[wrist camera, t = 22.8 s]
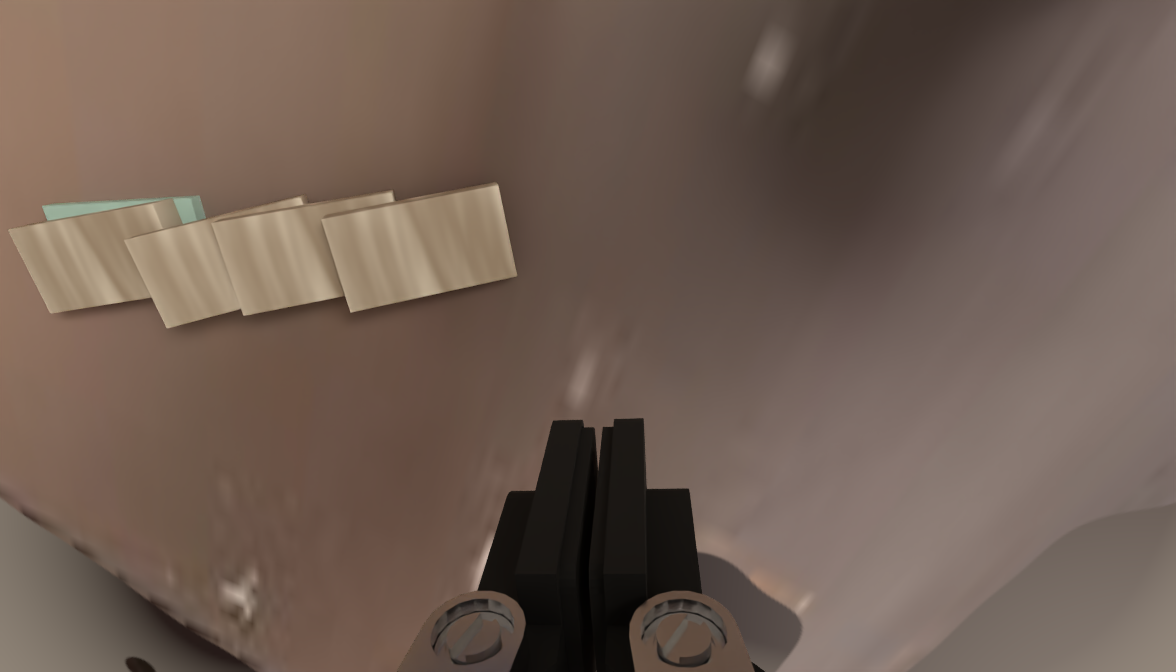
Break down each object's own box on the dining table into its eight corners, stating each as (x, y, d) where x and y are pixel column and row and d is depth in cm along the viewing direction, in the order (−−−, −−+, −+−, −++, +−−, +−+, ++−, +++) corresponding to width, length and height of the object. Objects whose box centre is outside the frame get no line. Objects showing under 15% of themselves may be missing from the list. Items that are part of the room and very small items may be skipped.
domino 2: (152, 203, 34) (7, 229, 35) (189, 291, 36) (50, 313, 37) (172, 198, 36) (32, 223, 37) (207, 282, 38) (72, 304, 39)
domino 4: (391, 192, 34) (211, 223, 32) (414, 282, 36) (243, 315, 34) (393, 189, 35) (220, 218, 34) (414, 276, 37) (251, 307, 36)
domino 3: (300, 197, 34) (123, 240, 33) (333, 284, 36) (166, 328, 35) (305, 194, 36) (136, 235, 35) (336, 277, 38) (177, 320, 36)
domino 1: (190, 198, 36) (41, 206, 36) (215, 283, 38) (73, 289, 38) (208, 193, 37) (65, 201, 38) (231, 276, 39) (94, 281, 40)
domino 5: (498, 184, 33) (321, 219, 32) (517, 276, 35) (350, 312, 34) (495, 181, 35) (326, 214, 33) (513, 269, 37) (353, 304, 35)
